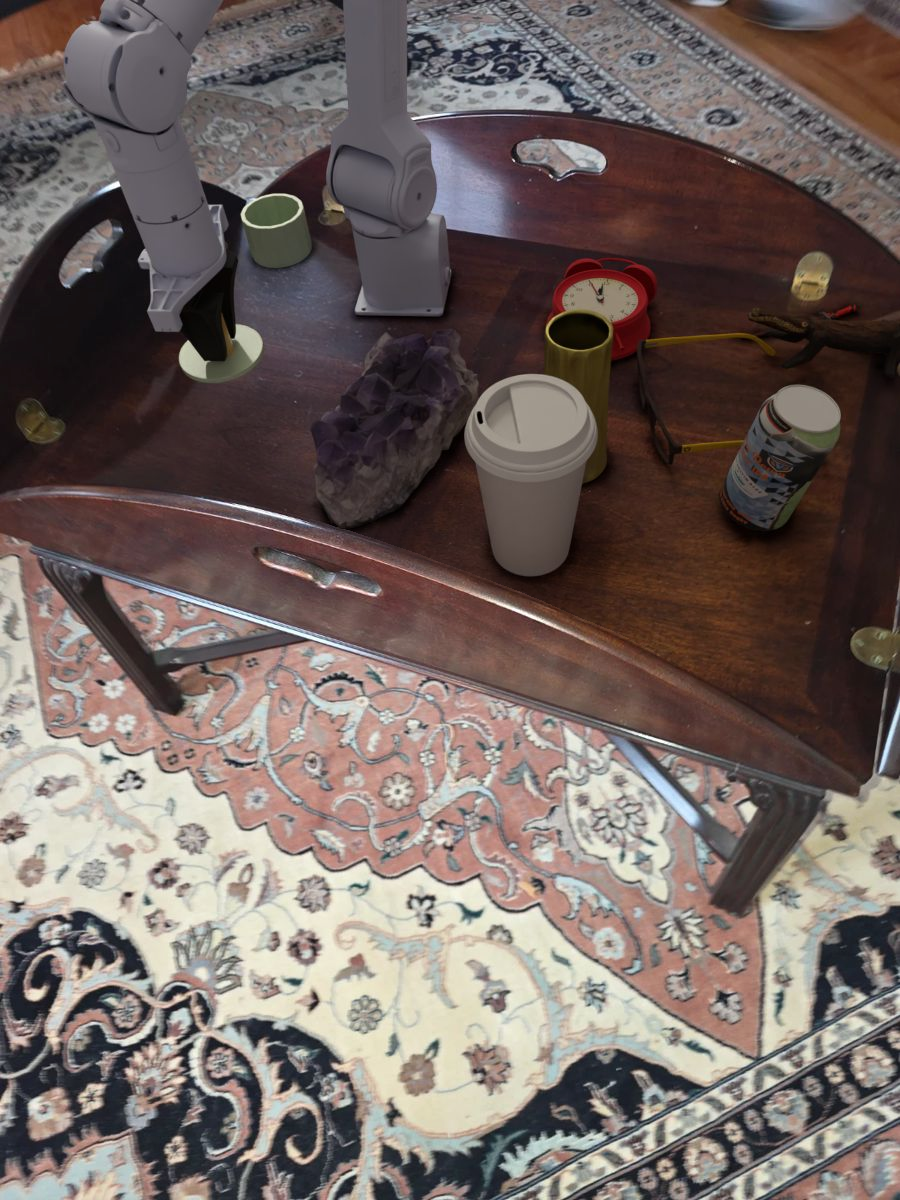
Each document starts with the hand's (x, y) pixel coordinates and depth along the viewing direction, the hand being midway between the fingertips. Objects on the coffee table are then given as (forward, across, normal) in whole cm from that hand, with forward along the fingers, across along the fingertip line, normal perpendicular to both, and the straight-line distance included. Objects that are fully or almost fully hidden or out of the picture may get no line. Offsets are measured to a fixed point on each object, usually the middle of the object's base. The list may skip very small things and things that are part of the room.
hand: (220, 347), depth 78 cm
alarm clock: (+9, -16, +34) cm, 38 cm away
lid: (+1, 0, 0) cm, 1 cm away
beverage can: (+9, +9, +48) cm, 49 cm away
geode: (+9, +4, +16) cm, 18 cm away
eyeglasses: (+9, -2, +45) cm, 46 cm away
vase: (+9, +4, +32) cm, 33 cm away
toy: (+10, -10, +57) cm, 59 cm away
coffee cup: (+9, +14, +29) cm, 33 cm away
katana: (+9, -14, +53) cm, 55 cm away
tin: (+9, -28, -3) cm, 30 cm away
